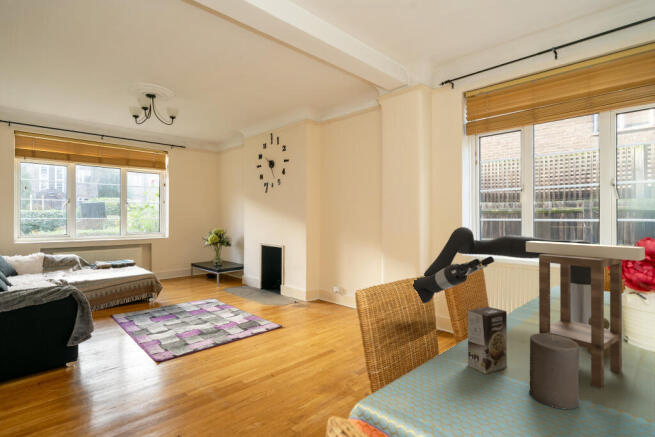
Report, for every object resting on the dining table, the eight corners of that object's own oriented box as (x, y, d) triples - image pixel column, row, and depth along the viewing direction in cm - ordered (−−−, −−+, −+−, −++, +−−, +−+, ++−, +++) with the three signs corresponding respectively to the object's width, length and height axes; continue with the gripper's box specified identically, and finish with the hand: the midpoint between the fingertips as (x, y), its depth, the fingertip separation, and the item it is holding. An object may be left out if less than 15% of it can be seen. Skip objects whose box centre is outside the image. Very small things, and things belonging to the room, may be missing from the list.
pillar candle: (520, 392, 81) (520, 331, 81) (546, 383, 85) (546, 325, 84) (561, 414, 72) (562, 346, 72) (588, 403, 76) (589, 339, 76)
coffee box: (486, 374, 90) (486, 315, 90) (466, 365, 96) (466, 309, 95) (508, 367, 94) (507, 310, 94) (487, 358, 100) (487, 305, 100)
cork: (616, 357, 100) (616, 320, 100) (593, 355, 101) (593, 319, 101) (603, 349, 106) (603, 314, 106) (582, 347, 107) (582, 314, 107)
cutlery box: (532, 250, 104) (532, 240, 104) (644, 259, 83) (644, 247, 83) (525, 251, 102) (525, 241, 102) (639, 260, 80) (639, 248, 80)
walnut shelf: (563, 353, 103) (562, 250, 102) (621, 371, 91) (621, 255, 91) (539, 367, 94) (539, 254, 93) (601, 388, 82) (600, 260, 82)
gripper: (434, 269, 124) (469, 251, 112) (457, 265, 132) (492, 248, 120) (443, 288, 121) (479, 272, 109) (466, 283, 129) (502, 267, 117)
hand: (486, 259), depth 114 cm, fingers open, 8 cm apart
